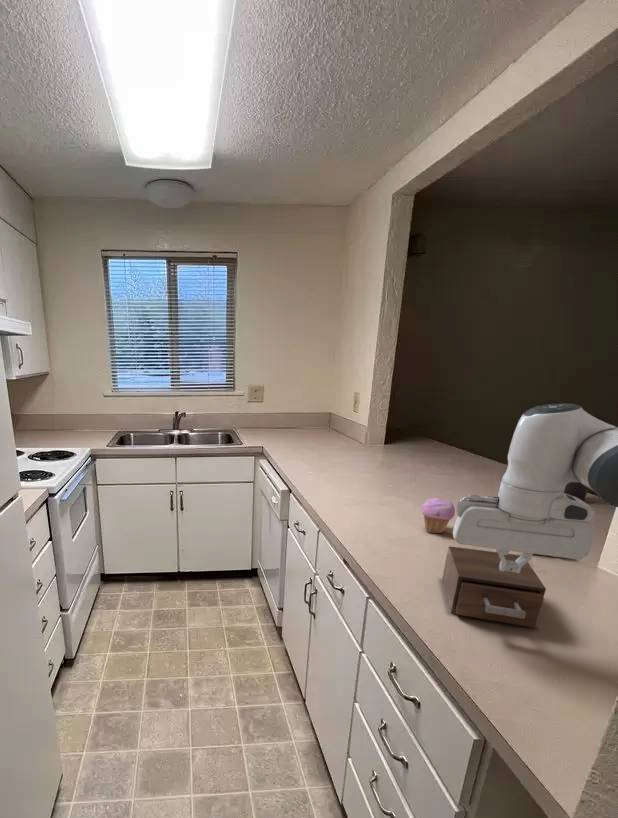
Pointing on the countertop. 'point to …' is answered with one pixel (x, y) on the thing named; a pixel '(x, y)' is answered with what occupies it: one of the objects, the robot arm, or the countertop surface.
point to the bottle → (576, 490)
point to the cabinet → (483, 572)
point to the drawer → (499, 603)
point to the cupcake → (437, 514)
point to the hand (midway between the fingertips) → (508, 571)
